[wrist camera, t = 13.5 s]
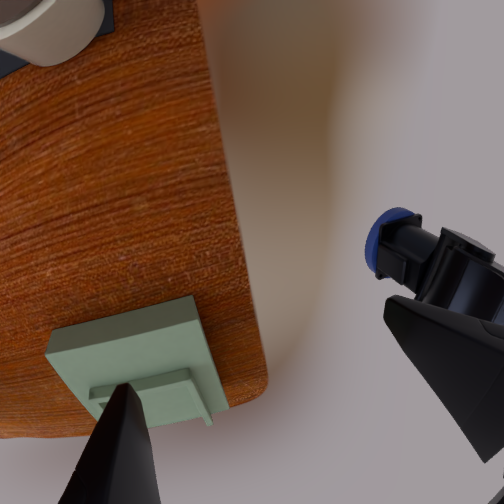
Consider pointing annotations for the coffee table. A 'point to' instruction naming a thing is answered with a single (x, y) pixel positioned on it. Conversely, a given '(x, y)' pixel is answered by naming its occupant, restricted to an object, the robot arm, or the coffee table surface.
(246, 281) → the coffee table surface
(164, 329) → the stand
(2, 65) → the mat
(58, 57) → the jar
